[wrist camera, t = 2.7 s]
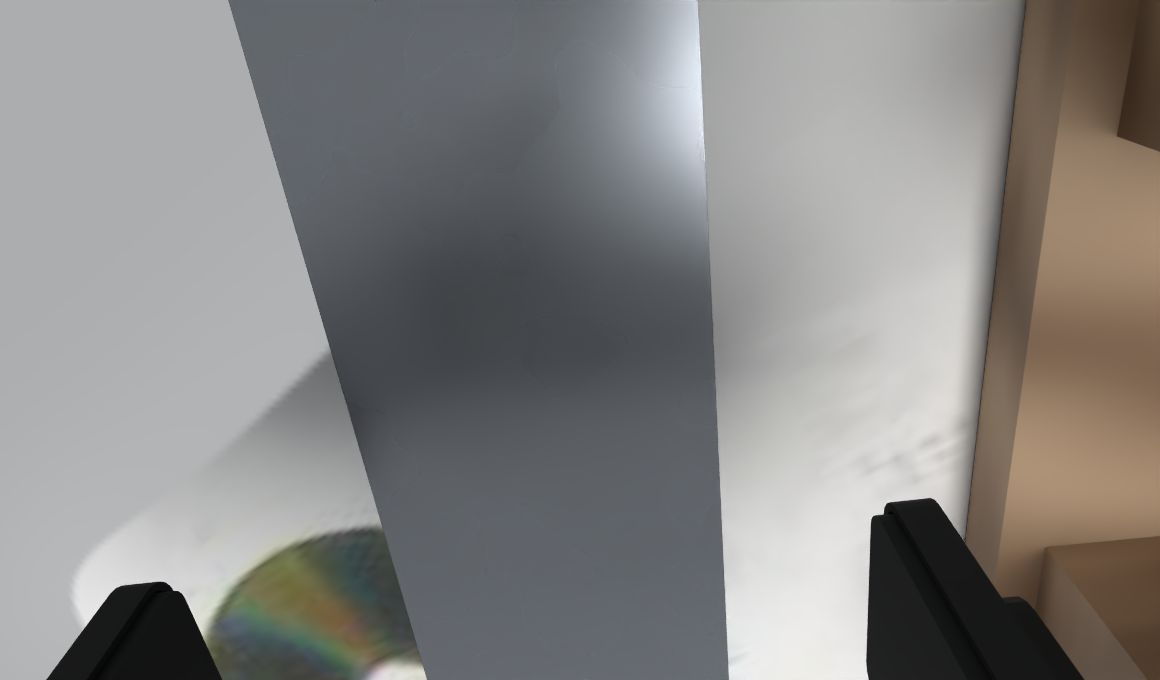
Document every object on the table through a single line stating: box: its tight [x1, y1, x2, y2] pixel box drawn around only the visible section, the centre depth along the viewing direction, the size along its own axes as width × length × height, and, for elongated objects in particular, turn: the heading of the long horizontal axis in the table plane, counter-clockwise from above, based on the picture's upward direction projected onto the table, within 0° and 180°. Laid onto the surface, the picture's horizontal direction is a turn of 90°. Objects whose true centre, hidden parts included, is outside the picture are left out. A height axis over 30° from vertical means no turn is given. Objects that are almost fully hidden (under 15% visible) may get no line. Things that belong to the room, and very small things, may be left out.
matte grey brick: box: [229, 0, 729, 680], centre depth 14 cm, size 18×5×6 cm, turn 7°
